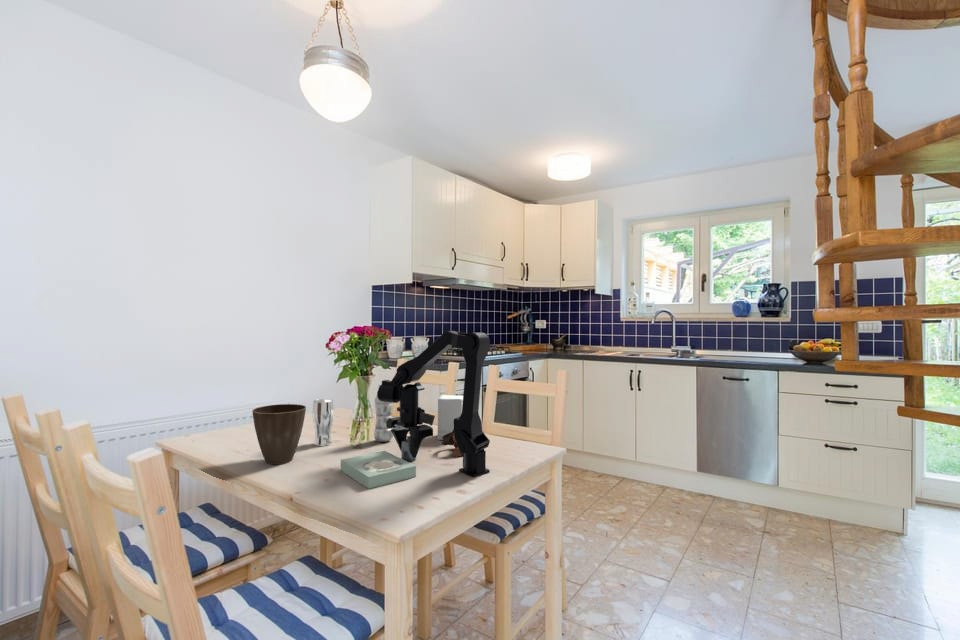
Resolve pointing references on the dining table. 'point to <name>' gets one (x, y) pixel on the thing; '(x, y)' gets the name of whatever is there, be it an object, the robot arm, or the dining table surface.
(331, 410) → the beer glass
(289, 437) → the plant pot
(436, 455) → the dining table surface
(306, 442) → the dining table surface
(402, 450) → the dark metal cylinder
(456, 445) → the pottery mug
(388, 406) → the plastic bottle
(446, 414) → the supplement box
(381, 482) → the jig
